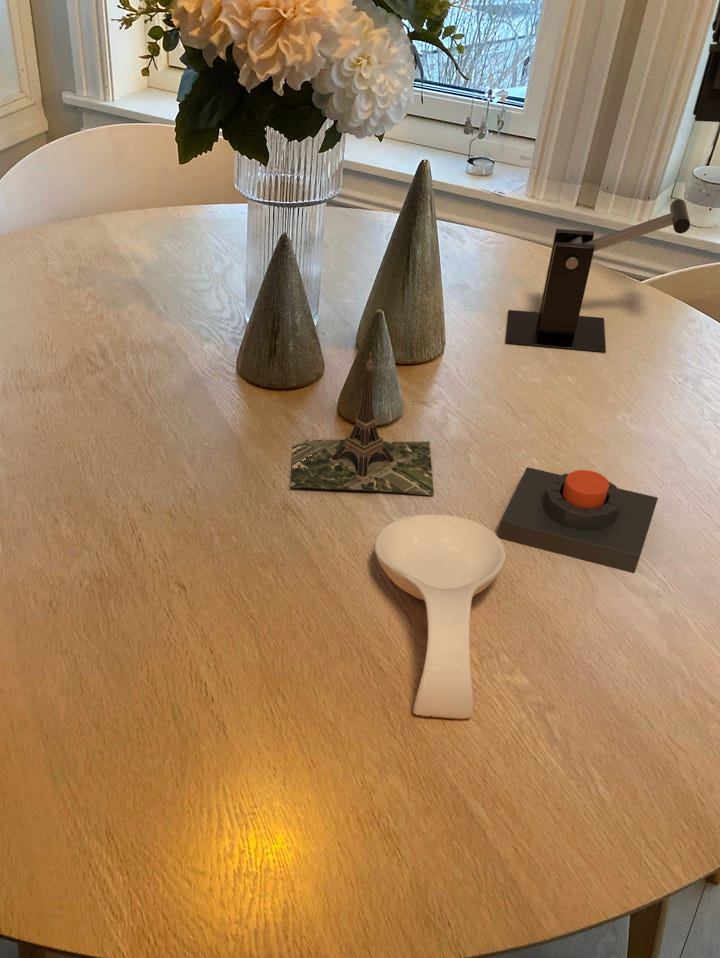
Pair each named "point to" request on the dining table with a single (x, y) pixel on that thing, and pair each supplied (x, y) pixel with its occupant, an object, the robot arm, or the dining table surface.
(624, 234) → the lever
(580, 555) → the button box
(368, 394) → the eiffel tower figurine
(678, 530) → the dining table surface
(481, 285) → the dining table surface
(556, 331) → the bracket
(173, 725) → the dining table surface
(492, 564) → the spoon rest
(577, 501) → the button
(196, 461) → the dining table surface
